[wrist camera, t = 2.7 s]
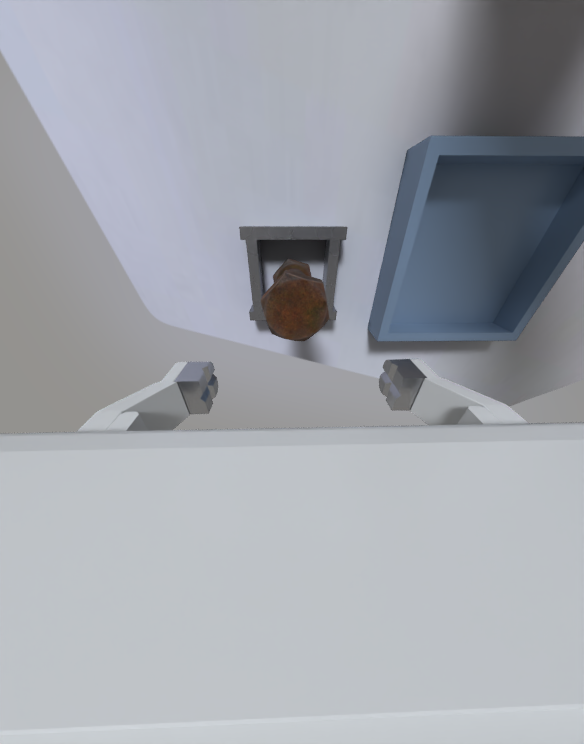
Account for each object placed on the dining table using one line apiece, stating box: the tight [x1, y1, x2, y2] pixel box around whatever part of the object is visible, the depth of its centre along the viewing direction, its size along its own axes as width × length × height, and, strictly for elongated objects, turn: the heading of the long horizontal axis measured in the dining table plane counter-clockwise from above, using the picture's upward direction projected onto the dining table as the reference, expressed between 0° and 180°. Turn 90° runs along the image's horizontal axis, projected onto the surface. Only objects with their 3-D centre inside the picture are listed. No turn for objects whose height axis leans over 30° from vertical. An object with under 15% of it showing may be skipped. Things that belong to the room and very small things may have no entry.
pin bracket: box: [239, 226, 347, 320], centre depth 28 cm, size 12×11×3 cm
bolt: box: [261, 259, 330, 341], centre depth 23 cm, size 6×5×15 cm
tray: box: [368, 136, 584, 341], centre depth 26 cm, size 20×20×4 cm
